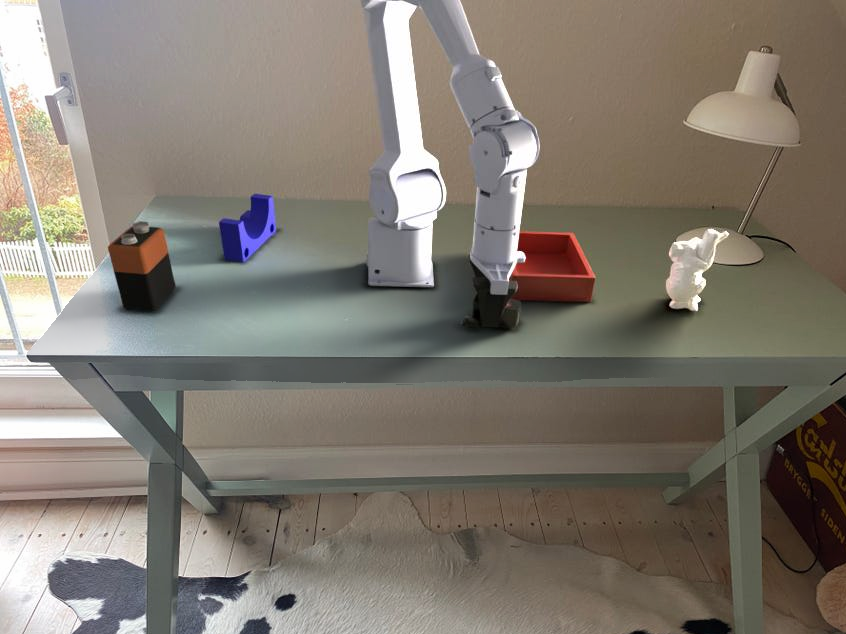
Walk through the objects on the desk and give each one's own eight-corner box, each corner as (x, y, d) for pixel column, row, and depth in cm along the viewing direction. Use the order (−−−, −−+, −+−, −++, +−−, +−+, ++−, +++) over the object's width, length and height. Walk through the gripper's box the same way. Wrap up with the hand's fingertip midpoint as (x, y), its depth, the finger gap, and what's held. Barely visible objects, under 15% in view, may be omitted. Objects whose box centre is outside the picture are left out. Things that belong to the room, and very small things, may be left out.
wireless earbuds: (469, 311, 92) (471, 291, 90) (519, 321, 91) (522, 301, 89) (460, 328, 89) (462, 307, 87) (512, 338, 87) (515, 317, 86)
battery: (177, 288, 91) (163, 220, 85) (156, 313, 86) (139, 242, 80) (145, 285, 91) (129, 217, 85) (122, 310, 85) (103, 239, 80)
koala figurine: (699, 294, 102) (721, 221, 96) (717, 316, 97) (742, 241, 90) (647, 293, 101) (665, 220, 94) (662, 316, 96) (683, 240, 89)
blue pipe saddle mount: (249, 227, 109) (245, 192, 106) (276, 230, 109) (272, 195, 105) (215, 258, 99) (208, 220, 96) (243, 262, 99) (238, 224, 96)
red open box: (509, 300, 96) (512, 275, 94) (497, 252, 109) (500, 230, 106) (590, 302, 97) (595, 277, 95) (569, 255, 110) (573, 232, 108)
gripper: (538, 248, 77) (524, 345, 84) (520, 201, 89) (510, 290, 96) (478, 245, 76) (469, 344, 84) (468, 198, 88) (461, 288, 95)
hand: (487, 315), depth 90 cm, fingers open, 5 cm apart
